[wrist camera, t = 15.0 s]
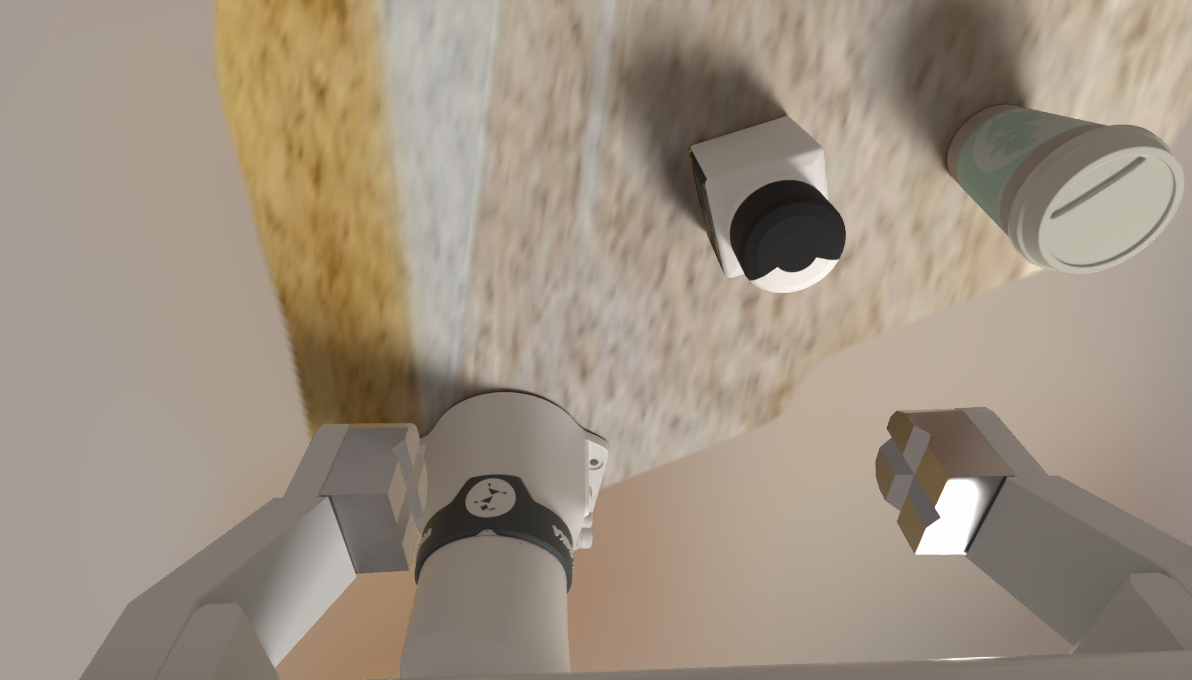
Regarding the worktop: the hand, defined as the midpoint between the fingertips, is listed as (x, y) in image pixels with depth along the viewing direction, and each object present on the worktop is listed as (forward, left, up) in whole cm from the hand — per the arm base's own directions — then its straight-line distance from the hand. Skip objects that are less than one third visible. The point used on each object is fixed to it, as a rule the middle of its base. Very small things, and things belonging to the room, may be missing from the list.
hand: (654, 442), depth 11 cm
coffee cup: (-6, -28, -35) cm, 45 cm away
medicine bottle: (-8, -11, -35) cm, 38 cm away
